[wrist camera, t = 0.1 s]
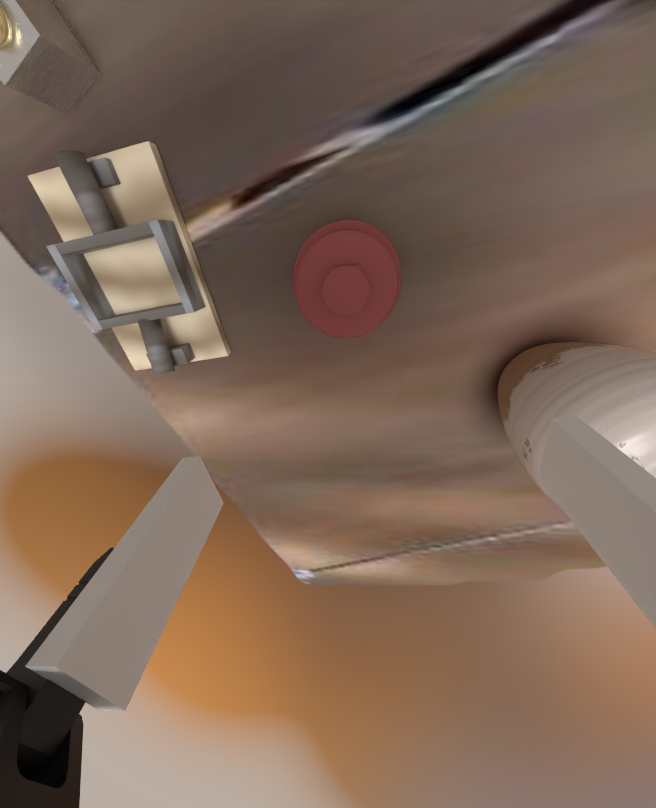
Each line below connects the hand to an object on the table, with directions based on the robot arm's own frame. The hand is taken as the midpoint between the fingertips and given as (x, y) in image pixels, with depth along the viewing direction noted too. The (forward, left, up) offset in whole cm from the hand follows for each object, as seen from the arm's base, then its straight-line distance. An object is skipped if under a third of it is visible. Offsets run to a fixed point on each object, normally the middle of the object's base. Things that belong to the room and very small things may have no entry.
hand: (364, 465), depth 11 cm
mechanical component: (-4, 0, -28) cm, 28 cm away
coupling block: (-26, -23, -28) cm, 45 cm away
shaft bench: (-8, -24, -28) cm, 38 cm away
